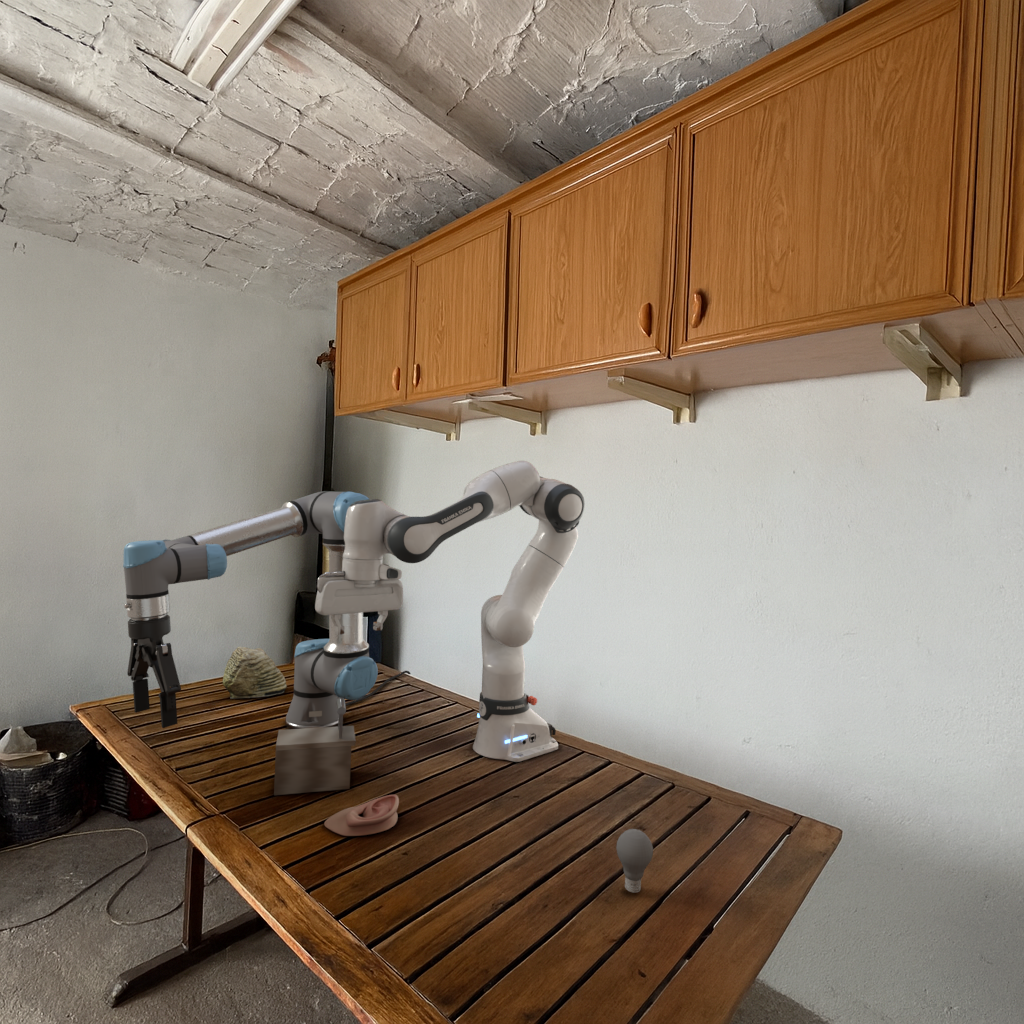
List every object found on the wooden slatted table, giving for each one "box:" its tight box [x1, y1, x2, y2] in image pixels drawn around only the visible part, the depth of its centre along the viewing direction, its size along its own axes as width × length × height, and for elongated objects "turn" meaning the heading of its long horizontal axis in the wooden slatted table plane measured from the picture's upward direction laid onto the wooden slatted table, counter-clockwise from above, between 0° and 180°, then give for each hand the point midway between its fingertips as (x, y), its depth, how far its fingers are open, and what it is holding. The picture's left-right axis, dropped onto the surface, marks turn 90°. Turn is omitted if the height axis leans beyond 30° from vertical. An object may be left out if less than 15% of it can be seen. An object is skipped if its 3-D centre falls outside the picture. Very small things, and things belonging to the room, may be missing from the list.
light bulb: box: [615, 828, 654, 894], centre depth 106 cm, size 6×6×10 cm
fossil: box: [222, 646, 288, 699], centre depth 198 cm, size 9×18×15 cm, turn 132°
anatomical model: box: [323, 794, 400, 837], centre depth 124 cm, size 13×4×12 cm
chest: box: [273, 746, 352, 796], centre depth 140 cm, size 16×9×9 cm, turn 107°
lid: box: [275, 697, 356, 752], centre depth 140 cm, size 16×9×8 cm, turn 107°
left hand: (155, 717), depth 131 cm, fingers open, 13 cm apart
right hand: (358, 631), depth 143 cm, fingers open, 8 cm apart
